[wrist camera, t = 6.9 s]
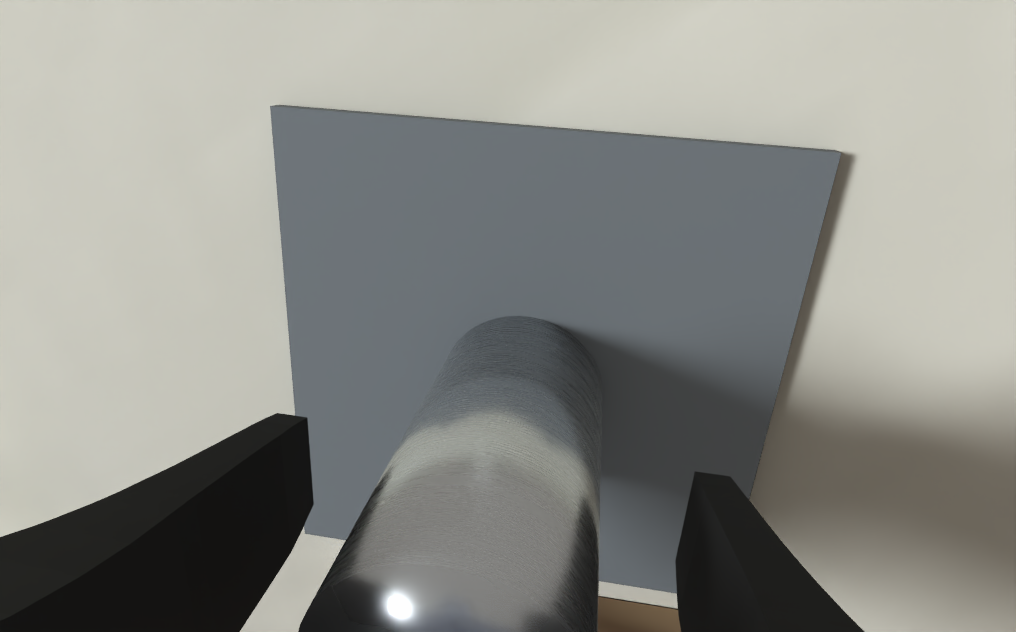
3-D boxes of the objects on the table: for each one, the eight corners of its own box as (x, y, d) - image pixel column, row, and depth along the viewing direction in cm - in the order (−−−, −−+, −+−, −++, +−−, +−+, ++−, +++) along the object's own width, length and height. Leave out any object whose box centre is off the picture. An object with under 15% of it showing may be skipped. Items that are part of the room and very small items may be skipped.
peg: (445, 451, 16) (314, 762, 9) (439, 311, 15) (275, 548, 8) (597, 464, 16) (588, 806, 9) (606, 320, 14) (604, 584, 7)
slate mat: (311, 524, 19) (304, 533, 18) (279, 105, 14) (270, 105, 14) (719, 589, 17) (722, 600, 17) (834, 150, 13) (841, 153, 12)
